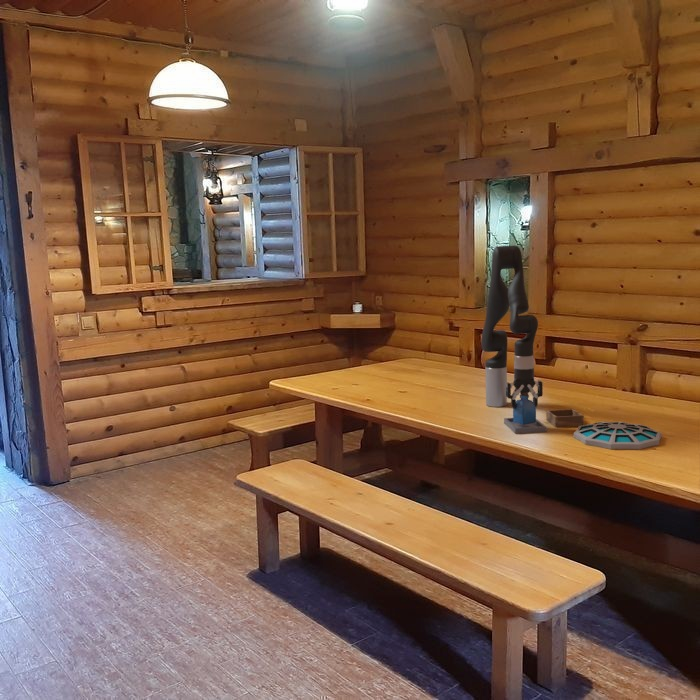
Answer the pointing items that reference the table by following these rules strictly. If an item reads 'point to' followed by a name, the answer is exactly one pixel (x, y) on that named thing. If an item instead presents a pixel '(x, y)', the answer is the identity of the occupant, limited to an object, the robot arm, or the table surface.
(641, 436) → the decorative platform
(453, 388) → the table surface
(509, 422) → the tray
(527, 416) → the perfume bottle
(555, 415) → the holder
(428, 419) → the table surface
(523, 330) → the robot arm
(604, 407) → the table surface
